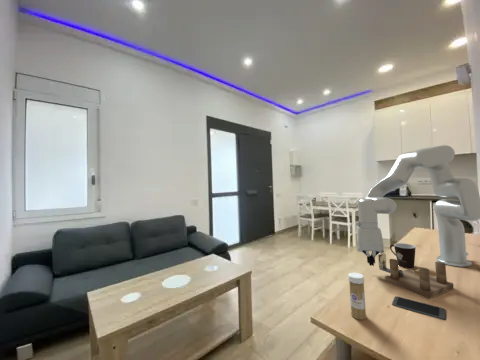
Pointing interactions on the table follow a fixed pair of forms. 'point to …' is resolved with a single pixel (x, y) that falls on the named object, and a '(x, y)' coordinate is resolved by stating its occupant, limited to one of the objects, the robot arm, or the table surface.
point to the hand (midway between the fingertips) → (371, 264)
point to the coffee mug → (404, 254)
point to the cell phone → (420, 307)
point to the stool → (420, 280)
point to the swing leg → (383, 264)
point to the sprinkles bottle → (357, 295)
